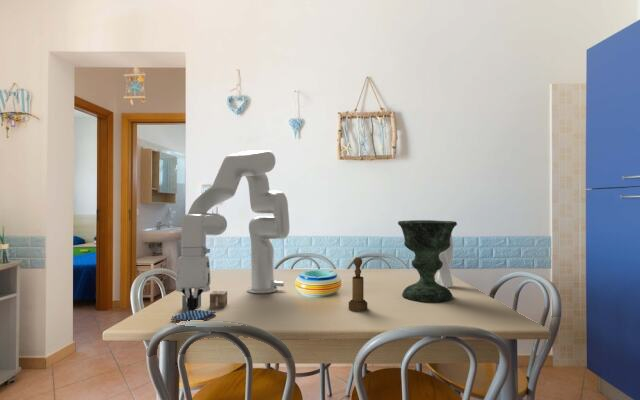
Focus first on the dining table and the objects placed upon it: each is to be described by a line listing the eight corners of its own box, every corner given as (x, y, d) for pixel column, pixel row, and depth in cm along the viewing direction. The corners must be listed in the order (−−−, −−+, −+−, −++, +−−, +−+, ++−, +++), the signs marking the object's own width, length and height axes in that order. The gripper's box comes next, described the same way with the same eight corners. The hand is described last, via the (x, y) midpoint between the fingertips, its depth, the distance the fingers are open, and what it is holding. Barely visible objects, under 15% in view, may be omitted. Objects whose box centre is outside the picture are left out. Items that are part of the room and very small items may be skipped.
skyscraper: (443, 284, 175) (442, 223, 176) (457, 287, 168) (457, 224, 169) (430, 286, 171) (429, 224, 171) (444, 289, 164) (443, 225, 164)
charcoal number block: (201, 306, 137) (201, 291, 138) (196, 310, 132) (196, 295, 132) (187, 306, 138) (187, 291, 138) (182, 310, 132) (182, 295, 132)
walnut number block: (227, 304, 139) (227, 290, 140) (223, 308, 134) (223, 293, 134) (213, 304, 139) (213, 290, 140) (209, 308, 134) (209, 293, 134)
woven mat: (190, 314, 129) (190, 308, 129) (217, 317, 125) (217, 311, 125) (168, 323, 119) (168, 316, 119) (196, 326, 115) (196, 320, 115)
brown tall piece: (355, 312, 128) (354, 259, 129) (345, 308, 134) (344, 257, 134) (371, 310, 131) (370, 258, 132) (360, 305, 137) (360, 255, 137)
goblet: (402, 289, 164) (401, 219, 164) (457, 293, 156) (457, 220, 157) (393, 301, 143) (393, 222, 144) (457, 306, 136) (456, 222, 136)
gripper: (219, 251, 126) (218, 307, 125) (174, 251, 126) (173, 306, 125) (213, 253, 118) (212, 313, 118) (165, 253, 118) (164, 312, 118)
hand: (192, 309), depth 122 cm, fingers closed
